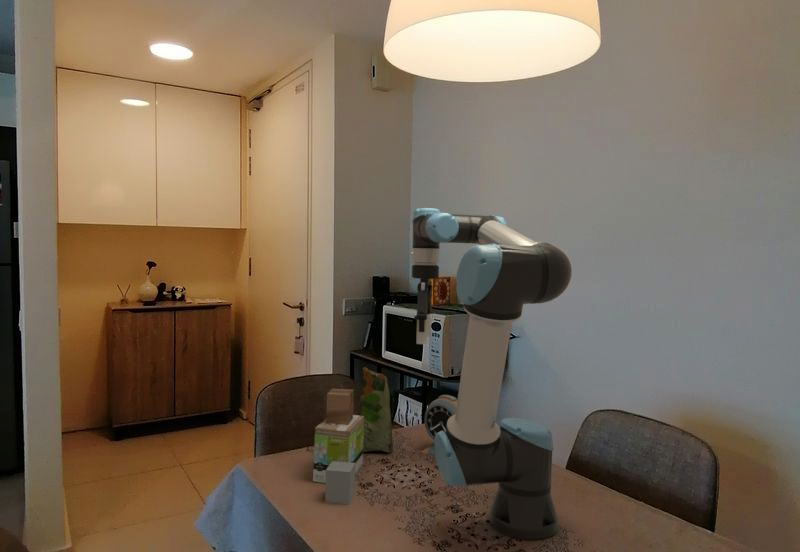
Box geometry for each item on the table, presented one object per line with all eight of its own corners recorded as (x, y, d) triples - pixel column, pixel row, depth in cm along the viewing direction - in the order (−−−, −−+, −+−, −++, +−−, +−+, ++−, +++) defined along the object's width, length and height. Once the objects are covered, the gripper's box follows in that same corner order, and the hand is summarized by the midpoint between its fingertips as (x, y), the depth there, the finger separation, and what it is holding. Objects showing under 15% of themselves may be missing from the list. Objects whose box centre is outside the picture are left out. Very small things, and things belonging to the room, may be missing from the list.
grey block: (349, 504, 136) (350, 472, 136) (325, 502, 137) (325, 470, 137) (354, 494, 142) (355, 462, 142) (331, 492, 143) (332, 461, 143)
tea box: (348, 486, 147) (349, 430, 146) (312, 482, 149) (313, 427, 148) (363, 465, 161) (364, 414, 161) (330, 462, 163) (331, 411, 163)
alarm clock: (417, 451, 173) (419, 394, 173) (435, 443, 181) (436, 388, 180) (457, 463, 165) (459, 403, 164) (474, 453, 173) (476, 396, 172)
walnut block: (348, 424, 151) (348, 395, 151) (326, 423, 152) (327, 393, 151) (352, 418, 157) (353, 389, 156) (331, 416, 158) (332, 388, 157)
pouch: (387, 458, 167) (389, 374, 166) (349, 453, 170) (351, 371, 169) (397, 446, 178) (399, 367, 177) (361, 441, 181) (363, 364, 180)
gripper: (416, 263, 170) (414, 333, 171) (407, 264, 145) (405, 346, 146) (441, 263, 169) (439, 334, 170) (436, 265, 144) (434, 347, 145)
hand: (423, 340), depth 158 cm, fingers open, 13 cm apart
